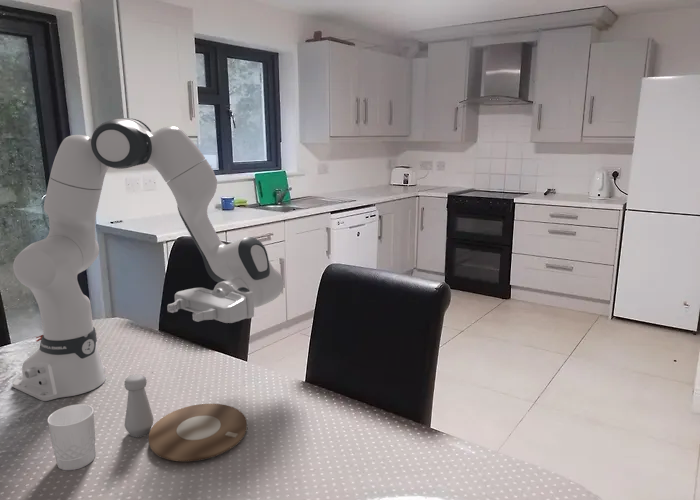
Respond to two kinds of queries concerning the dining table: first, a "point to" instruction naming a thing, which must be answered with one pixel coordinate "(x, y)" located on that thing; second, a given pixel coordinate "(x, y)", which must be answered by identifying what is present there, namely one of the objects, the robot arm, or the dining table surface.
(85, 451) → the white cup
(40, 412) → the dining table surface
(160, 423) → the turntable
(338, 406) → the dining table surface
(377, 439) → the dining table surface
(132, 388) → the salt shaker
